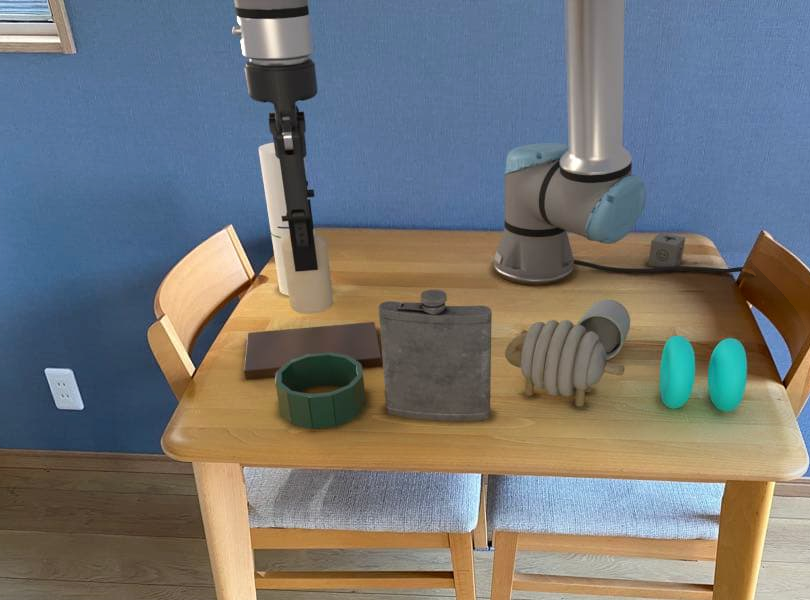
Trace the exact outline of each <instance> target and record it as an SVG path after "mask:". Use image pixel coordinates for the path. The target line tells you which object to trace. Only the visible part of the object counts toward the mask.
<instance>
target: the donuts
mask: <svg viewBox="0 0 810 600" xmlns="http://www.w3.org/2000/svg"><path fill="white" fill-rule="evenodd" d="M746 353H747V352H746V349H745V347H744V345H743V344H742V342H741V341H740V340H739V339H737V338H733V337H728V338H724V339H722V340H721V341H720V342H719V343H718V344H717V345H715V347H714V349H713V351H712V354H711V356H710V360H709V364H708V372H707V387H708V388H707V389H708V394H709V398H710V400H711V403H712V404H713V406H714V407H715V408H716V409H718V410H719V411H721V412H724V413H729V412H732V411H734V410H736V409H737V408H738V407H739V406H740V404H741V403H742V400H743V397H744V394H745V391H746V390H745V389H746V385H747V378H748V377H747V376H748V359H747V354H746ZM659 370H660V371H659V392H660V398H661V401H662V403H663V404H664V405H665V407H667V408H669V409H672V410H673V409H674V410H675V409H679V408H681V407H683V406H684V405H685V404H686V403H687V402H688V401H689V399H690V397H691V395H692V392H693V389H694V385H695V384H694V383H695V376H696V356H695V352H694V348H693V346H692V344H691V342H690V341H689V340H688V339H687V337H684V336H682V335H672V336H671V337H669V338H668V339H667V340H666V342H665V343H664V347H663V350H662V354H661V361H660V369H659Z"/></svg>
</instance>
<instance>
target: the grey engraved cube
mask: <svg viewBox="0 0 810 600" xmlns="http://www.w3.org/2000/svg"><path fill="white" fill-rule="evenodd" d="M685 242H686V237H684V236H680V235H675V234H669V233H665V232H659V233H658V234H657V235H656V236H655V237H653V238H652V240H651V241H650V248H649V249H650V250H649V257H648V263H647V265H648V266H649V267H653V268H662V267H674V266H680V264H681V263H682V261H683V257H684V256H683V254H684V248H685Z"/></svg>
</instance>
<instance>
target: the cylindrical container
mask: <svg viewBox="0 0 810 600" xmlns="http://www.w3.org/2000/svg"><path fill="white" fill-rule="evenodd" d="M258 155H259V163H260V169H261V176H262V182H263V188H264V196H265V202H266V209H267V216H268V221H269V229H270V236H271V242H272V246H273V247H272V249H273V255H274V261H275V268H276V274H277V281H278V288H279V292H280V293H281V294H283V295H285V296H288V297H289V293H288V286H287V280H286V273H285V267H284V260H283V254H282V247H281V243H282V242H283V240H284V239H285V238H286V237H287V236H288V235H289V234H290V231H289V224H288V221H284V222H282V216H286V213H287V209H286V202H285V195H284V188H283V181H282V174H281V167H280V160H279V159H278V158H277V157H276V155H275V147H274V142H269V143H264V144H262V145H260V146H258ZM304 164H305V165H306V161H305V158H304ZM306 168H307V167H305V172H306V173H307V170H306ZM306 180H307V181H308V177H307V175H306ZM307 189H308V190H309V185H308V186H307ZM308 199H310V197H308Z"/></svg>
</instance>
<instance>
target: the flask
mask: <svg viewBox="0 0 810 600" xmlns="http://www.w3.org/2000/svg"><path fill="white" fill-rule="evenodd" d="M447 301H448V294H447V292H446V291H444V290H442V289H436V288H435V289H427V290H424V291H422V292H421V293H420V302H410V301H409V302H408V301H407V302H406V301H396V300H395V301H394V300H387V301H383V302H380V304H379V305H378V316H379V329H380V343H381V358H382V366H383V367H382V369H383V383H384V394H385V408H386V412H387V414H389V415H391V416H397V417H403V418H409V419H415V420H416V419H418V420H428V421H444V422H477V421H478V422H479V421H485V420H488V419H489V418H490V416H491V381H492V380H491V378H492V377H491V375H492V374H491V372H492V369H491V368H492V315H493V314H492V312H493V311H492V308H491V307H489V306H486V305H446V302H447Z"/></svg>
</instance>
